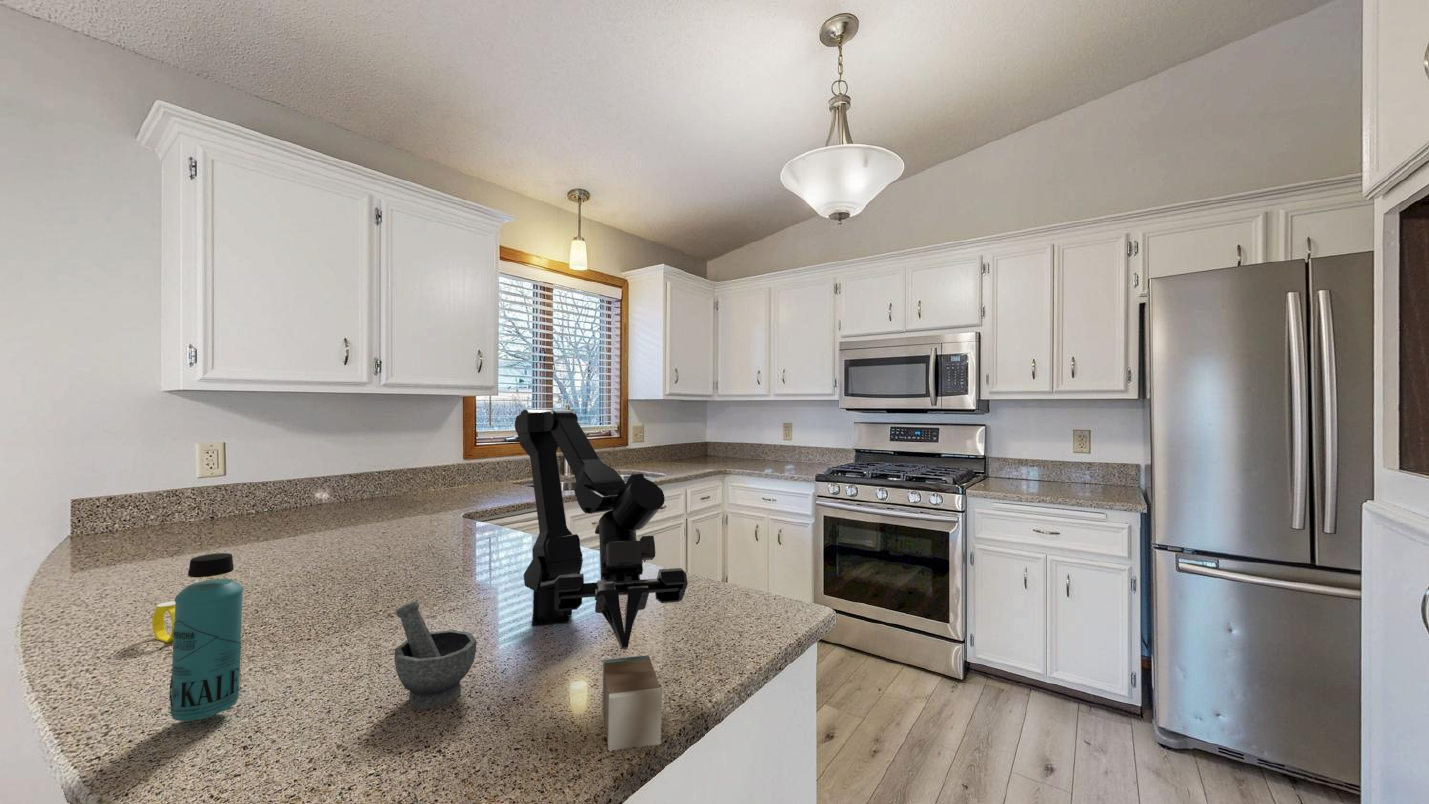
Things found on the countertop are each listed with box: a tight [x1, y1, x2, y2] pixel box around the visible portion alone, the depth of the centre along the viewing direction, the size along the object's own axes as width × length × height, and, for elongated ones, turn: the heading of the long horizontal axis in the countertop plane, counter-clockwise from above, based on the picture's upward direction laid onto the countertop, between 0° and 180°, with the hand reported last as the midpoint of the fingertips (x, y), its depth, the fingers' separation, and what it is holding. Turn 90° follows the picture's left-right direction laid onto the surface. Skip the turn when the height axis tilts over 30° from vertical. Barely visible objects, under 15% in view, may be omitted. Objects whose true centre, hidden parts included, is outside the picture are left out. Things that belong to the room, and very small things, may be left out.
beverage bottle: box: [168, 552, 244, 722], centre depth 68 cm, size 6×7×20 cm
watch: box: [151, 600, 176, 644], centre depth 90 cm, size 6×3×6 cm, turn 69°
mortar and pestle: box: [394, 601, 477, 710], centre depth 74 cm, size 11×9×12 cm
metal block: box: [601, 654, 663, 752], centre depth 68 cm, size 6×6×10 cm
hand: (624, 647), depth 75 cm, fingers closed
